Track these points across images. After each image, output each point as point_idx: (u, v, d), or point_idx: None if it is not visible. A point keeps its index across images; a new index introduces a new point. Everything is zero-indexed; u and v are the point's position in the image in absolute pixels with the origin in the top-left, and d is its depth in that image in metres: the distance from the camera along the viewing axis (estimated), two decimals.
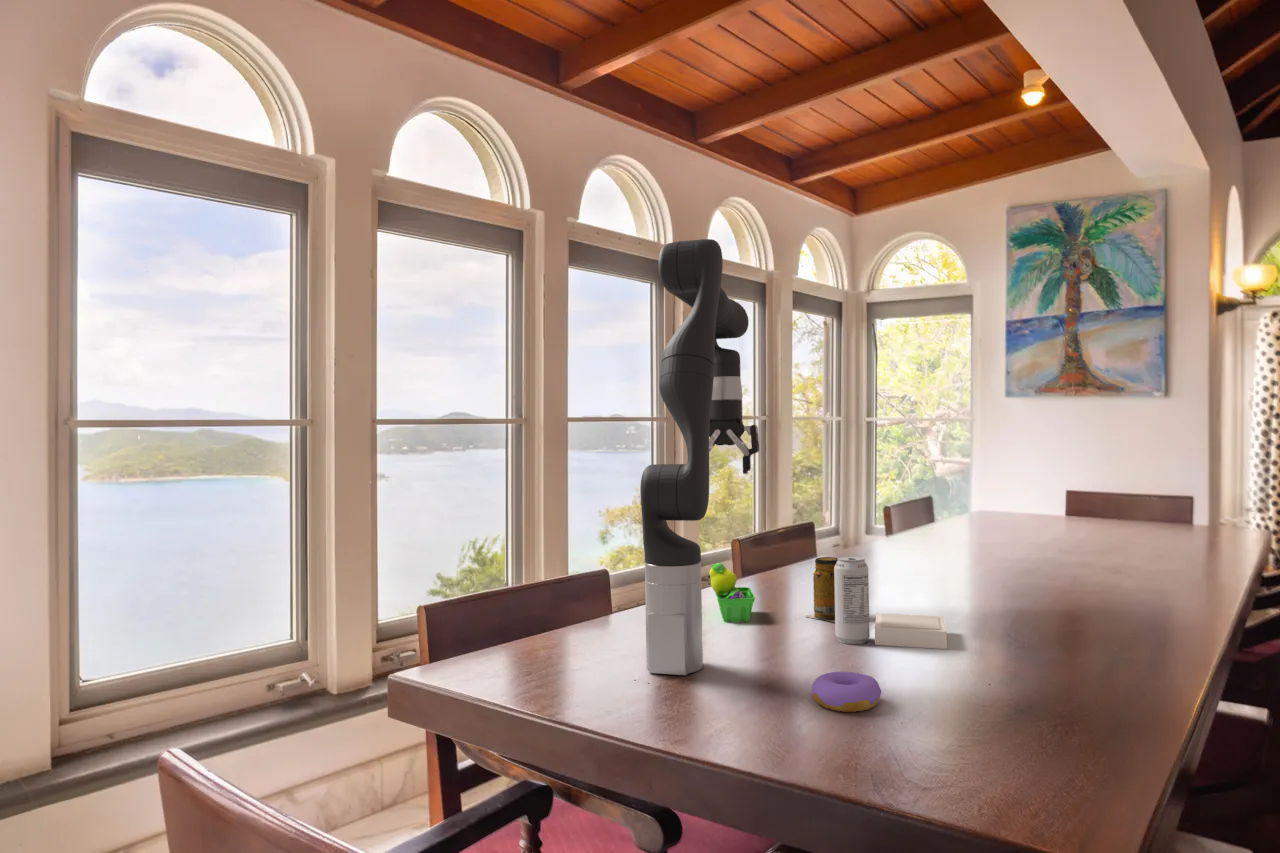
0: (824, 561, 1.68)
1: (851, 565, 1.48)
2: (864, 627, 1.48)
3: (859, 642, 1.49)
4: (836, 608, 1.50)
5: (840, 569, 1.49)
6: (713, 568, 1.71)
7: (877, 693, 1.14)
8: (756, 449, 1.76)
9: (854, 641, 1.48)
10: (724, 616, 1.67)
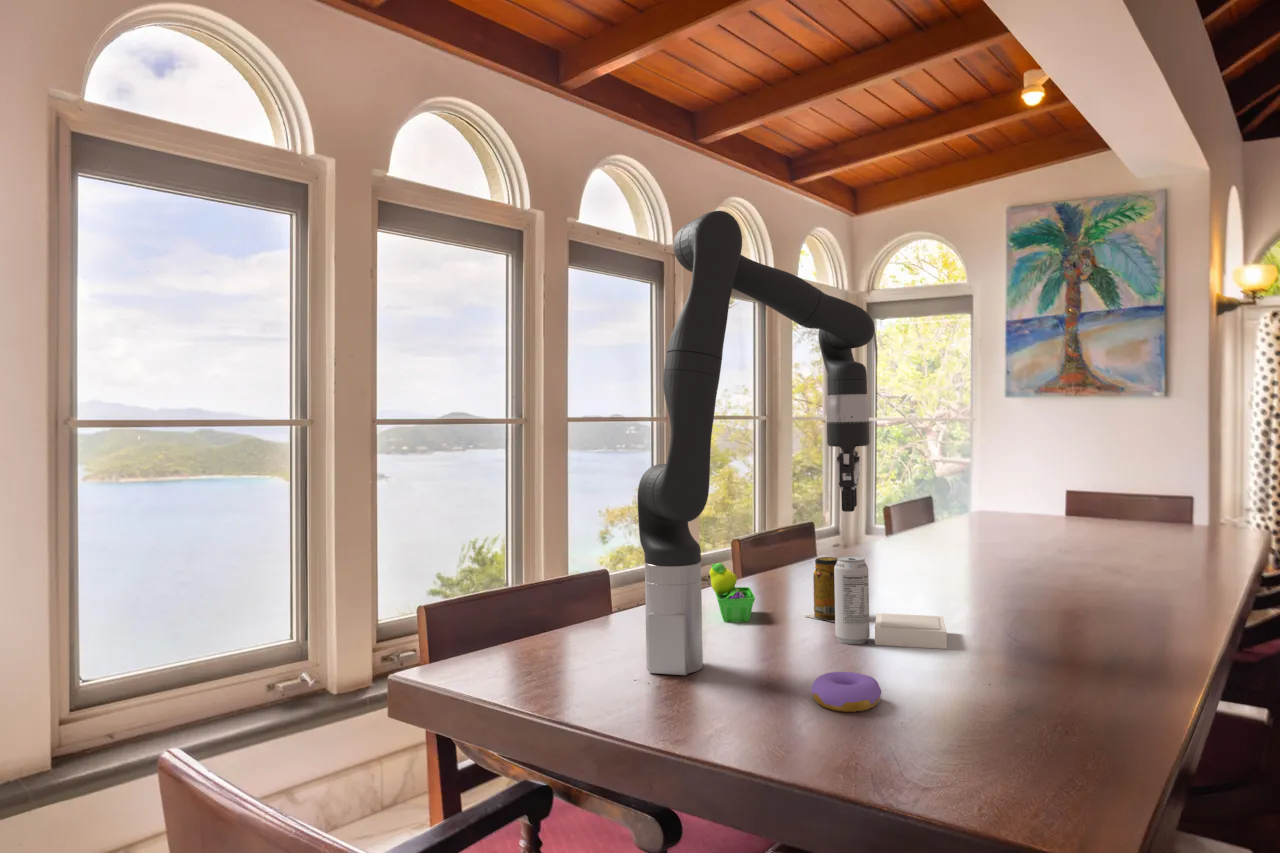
0: (824, 561, 1.68)
1: (851, 565, 1.48)
2: (864, 627, 1.48)
3: (859, 642, 1.49)
4: (836, 608, 1.50)
5: (840, 569, 1.49)
6: (713, 568, 1.71)
7: (877, 693, 1.14)
8: (857, 478, 1.57)
9: (854, 641, 1.48)
10: (724, 616, 1.67)
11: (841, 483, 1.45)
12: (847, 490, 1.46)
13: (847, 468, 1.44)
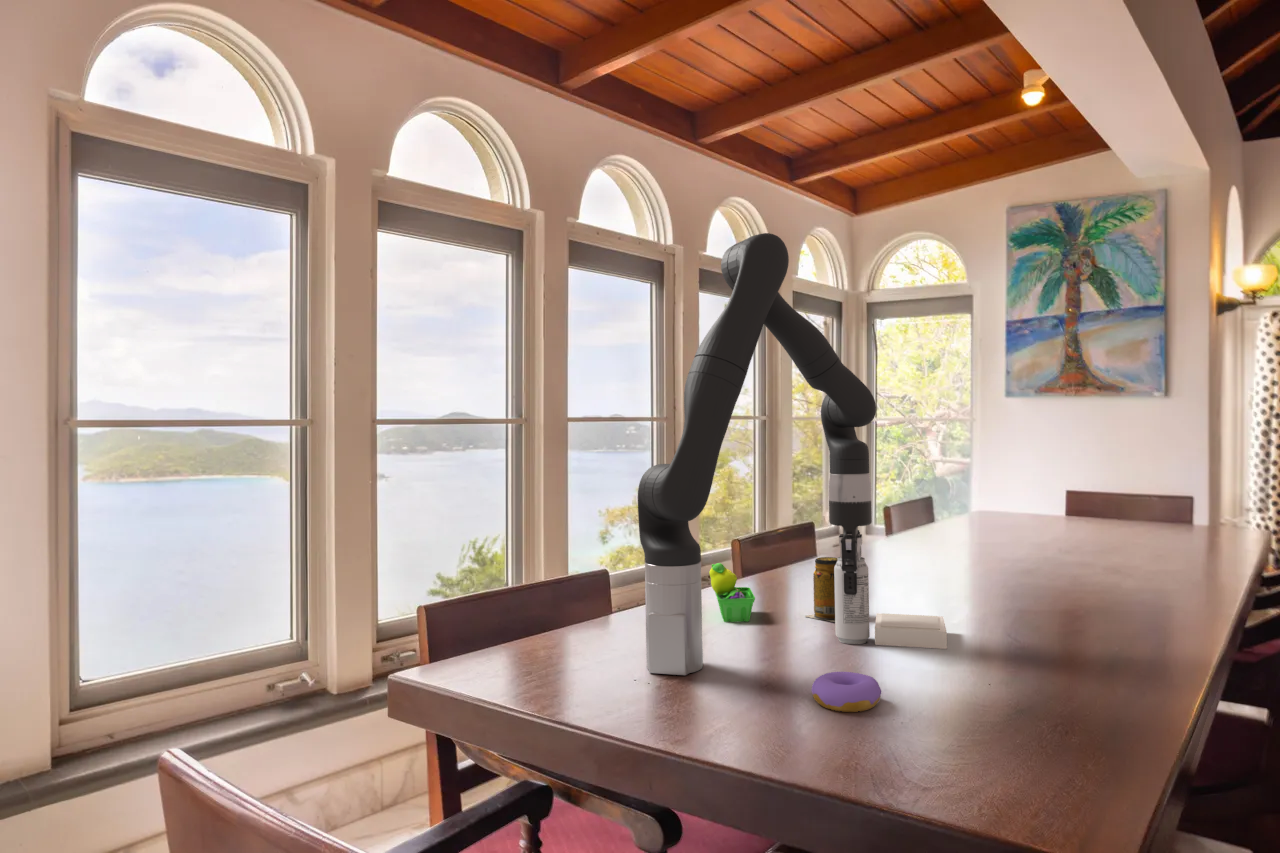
0: (824, 561, 1.68)
1: None
2: (864, 627, 1.48)
3: (859, 642, 1.48)
4: (836, 608, 1.50)
5: (840, 569, 1.49)
6: (713, 568, 1.71)
7: (877, 693, 1.14)
8: None
9: (854, 641, 1.48)
10: (724, 616, 1.67)
11: (843, 568, 1.45)
12: (849, 574, 1.47)
13: (849, 554, 1.45)
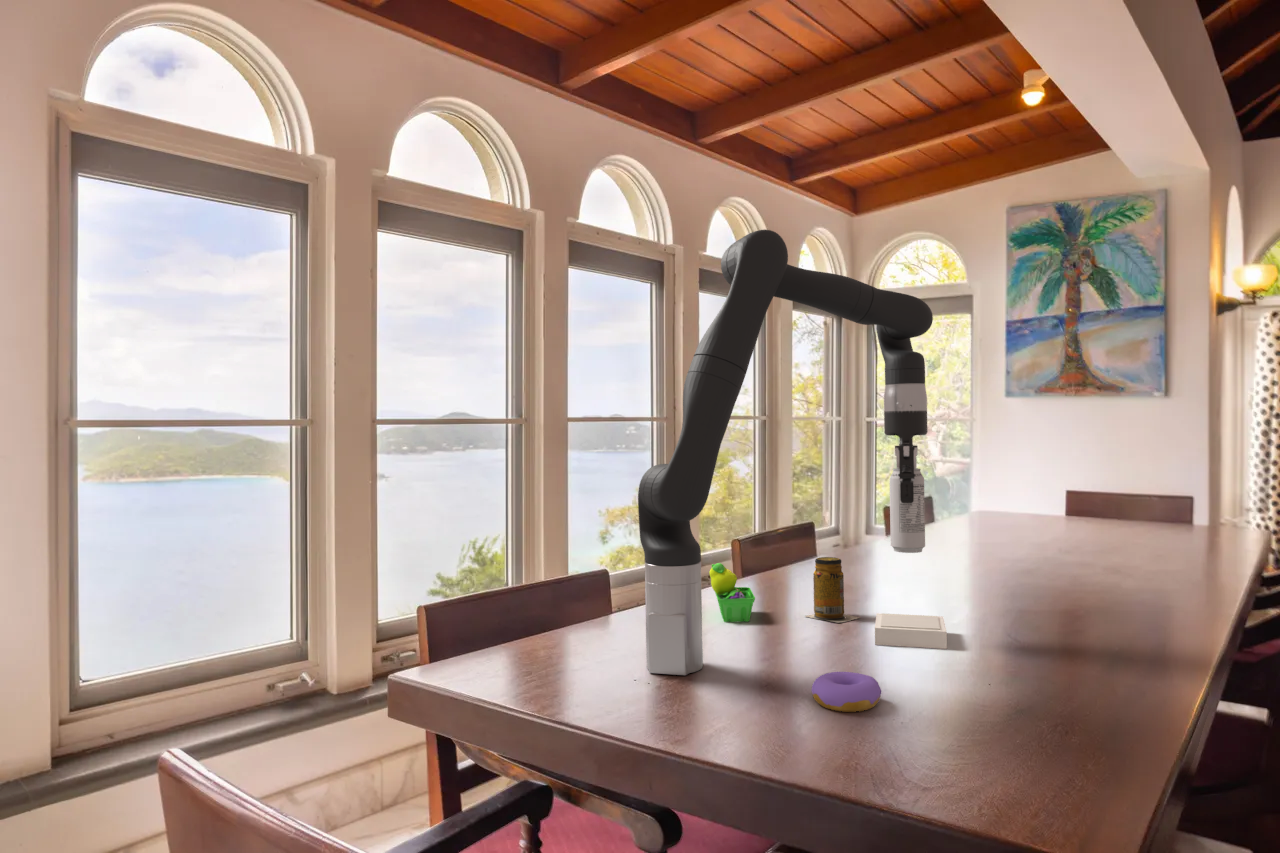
0: (824, 561, 1.68)
1: None
2: (920, 536, 1.49)
3: (915, 551, 1.49)
4: (892, 518, 1.51)
5: (897, 478, 1.50)
6: (713, 568, 1.71)
7: (877, 693, 1.14)
8: None
9: (910, 550, 1.49)
10: (724, 616, 1.67)
11: (901, 475, 1.46)
12: (906, 482, 1.48)
13: (907, 461, 1.46)
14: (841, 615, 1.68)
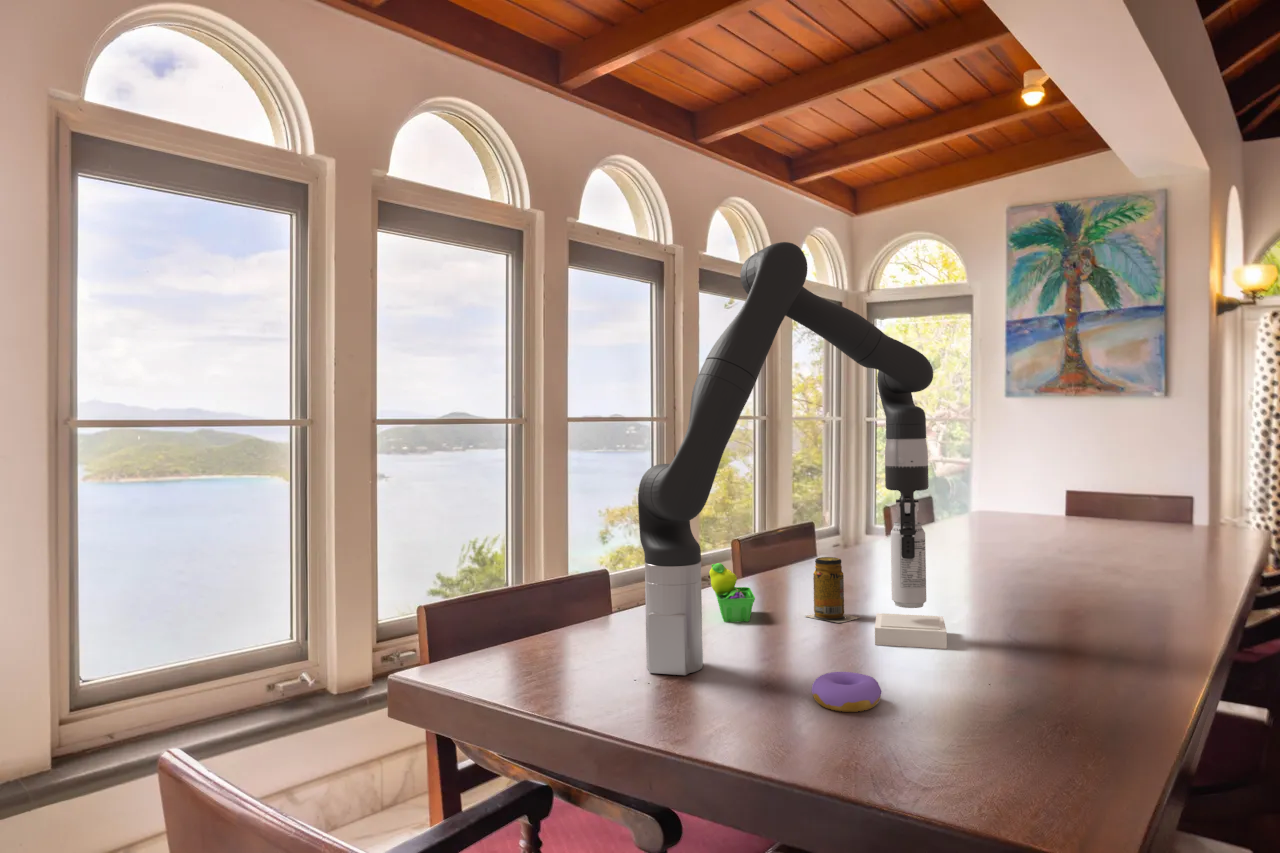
0: (824, 561, 1.68)
1: None
2: (921, 591, 1.49)
3: (916, 606, 1.49)
4: (893, 572, 1.51)
5: (898, 533, 1.50)
6: (713, 568, 1.71)
7: (877, 693, 1.14)
8: None
9: (911, 605, 1.49)
10: (724, 616, 1.67)
11: (902, 532, 1.46)
12: (907, 537, 1.47)
13: (908, 517, 1.46)
14: (841, 615, 1.68)
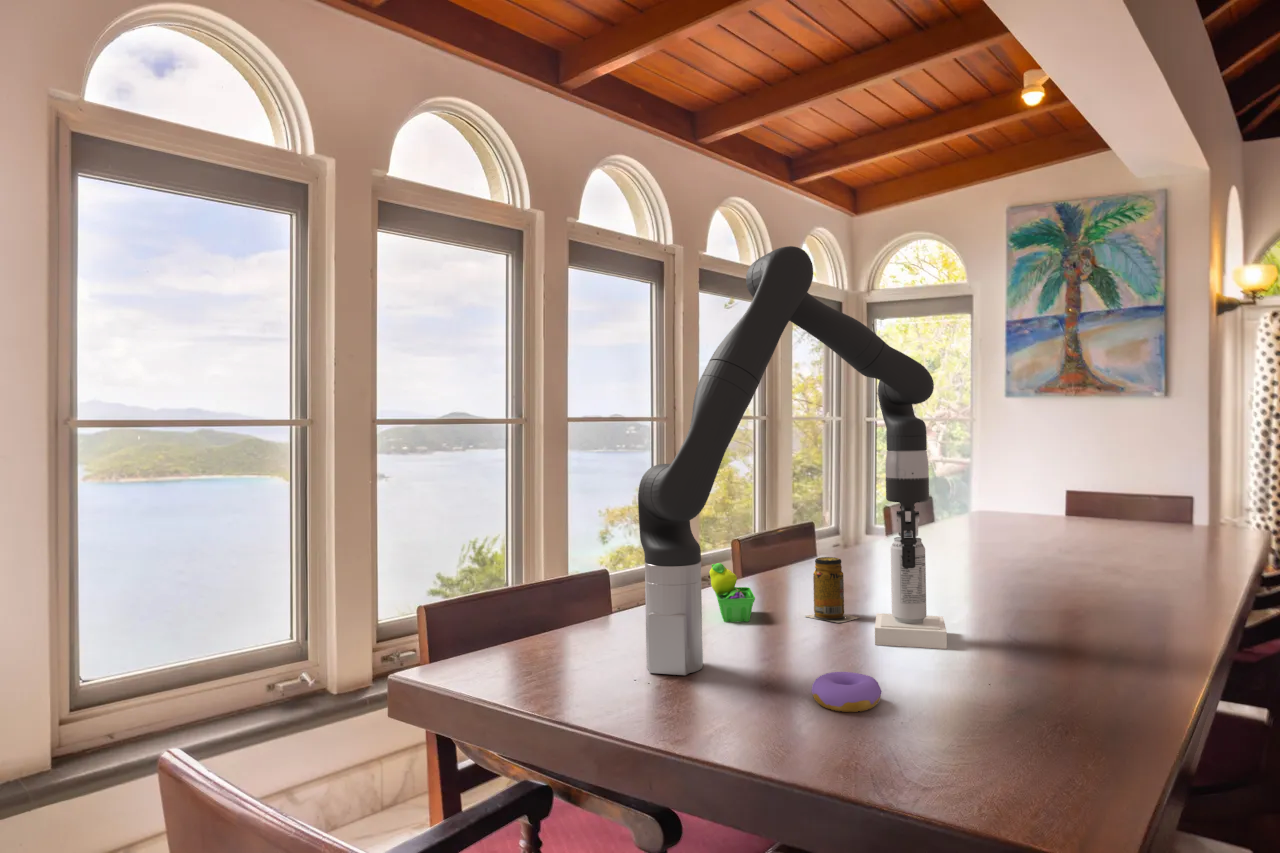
0: (824, 561, 1.68)
1: None
2: (921, 607, 1.49)
3: (916, 622, 1.49)
4: (893, 588, 1.51)
5: (898, 549, 1.50)
6: (713, 568, 1.71)
7: (877, 693, 1.14)
8: None
9: (912, 621, 1.49)
10: (724, 616, 1.67)
11: (903, 540, 1.45)
12: (908, 547, 1.47)
13: (909, 526, 1.45)
14: (841, 615, 1.68)
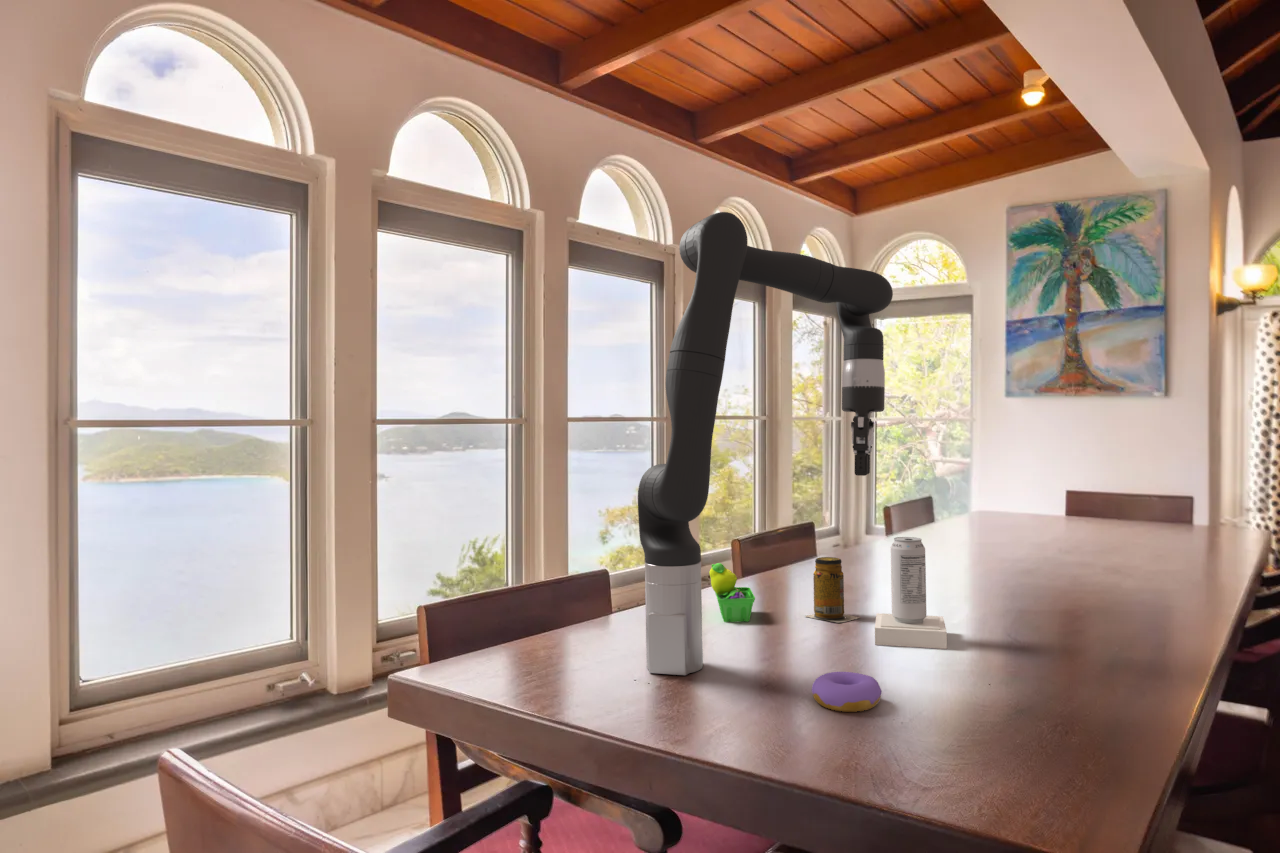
0: (824, 561, 1.68)
1: (908, 545, 1.49)
2: (921, 607, 1.49)
3: (916, 622, 1.49)
4: (893, 588, 1.51)
5: (898, 549, 1.50)
6: (713, 568, 1.71)
7: (877, 693, 1.14)
8: None
9: (912, 621, 1.49)
10: (724, 616, 1.67)
11: (855, 446, 1.44)
12: (860, 454, 1.46)
13: (861, 431, 1.44)
14: (841, 615, 1.68)
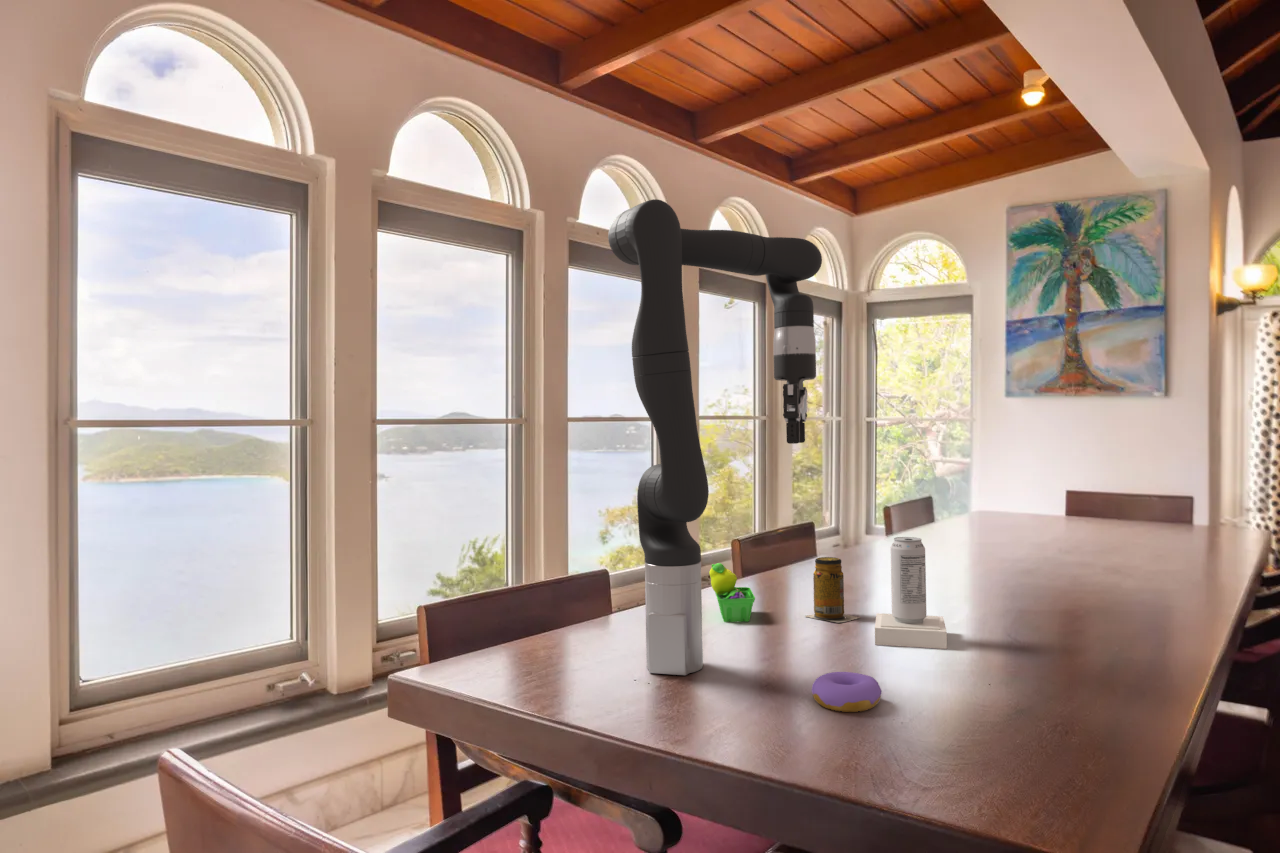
0: (824, 561, 1.68)
1: (908, 545, 1.49)
2: (921, 607, 1.49)
3: (916, 622, 1.49)
4: (893, 588, 1.51)
5: (898, 549, 1.50)
6: (713, 568, 1.71)
7: (877, 693, 1.14)
8: (806, 414, 1.56)
9: (912, 621, 1.49)
10: (724, 616, 1.67)
11: (785, 414, 1.43)
12: (792, 421, 1.45)
13: (791, 399, 1.43)
14: (841, 615, 1.68)
